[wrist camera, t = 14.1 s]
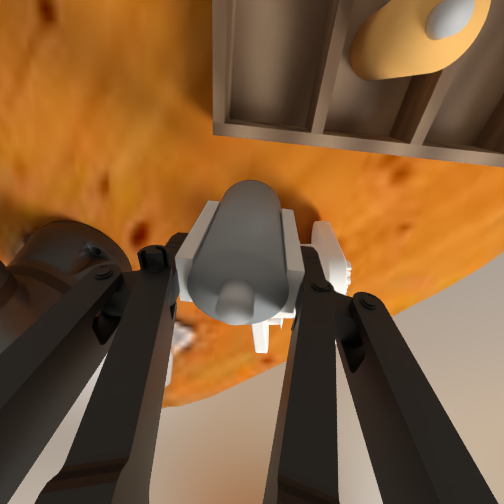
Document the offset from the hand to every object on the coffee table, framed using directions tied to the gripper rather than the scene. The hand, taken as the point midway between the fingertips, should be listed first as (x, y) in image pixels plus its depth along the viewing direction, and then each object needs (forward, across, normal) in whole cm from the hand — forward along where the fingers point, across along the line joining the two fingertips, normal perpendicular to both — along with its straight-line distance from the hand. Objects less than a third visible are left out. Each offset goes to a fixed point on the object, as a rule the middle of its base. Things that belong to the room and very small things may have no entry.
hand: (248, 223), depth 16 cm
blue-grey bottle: (+2, 0, 0) cm, 2 cm away
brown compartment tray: (+14, +9, +10) cm, 20 cm away
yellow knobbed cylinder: (+13, +9, +12) cm, 20 cm away
